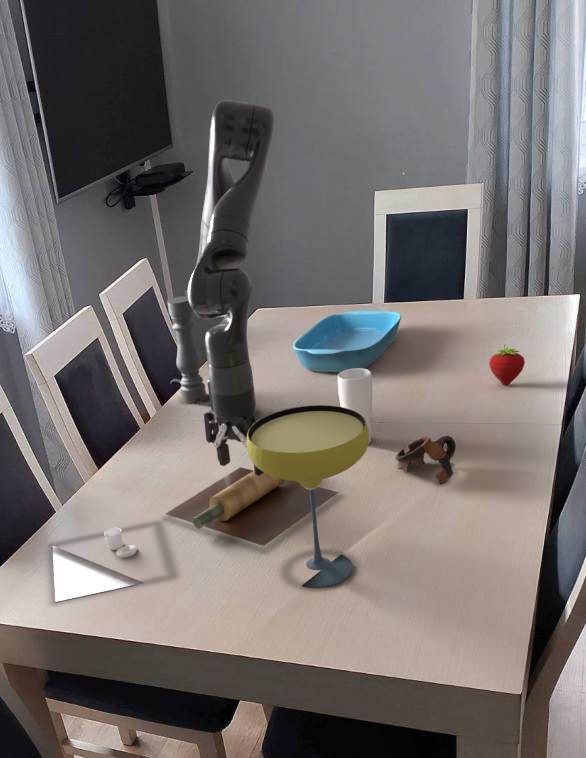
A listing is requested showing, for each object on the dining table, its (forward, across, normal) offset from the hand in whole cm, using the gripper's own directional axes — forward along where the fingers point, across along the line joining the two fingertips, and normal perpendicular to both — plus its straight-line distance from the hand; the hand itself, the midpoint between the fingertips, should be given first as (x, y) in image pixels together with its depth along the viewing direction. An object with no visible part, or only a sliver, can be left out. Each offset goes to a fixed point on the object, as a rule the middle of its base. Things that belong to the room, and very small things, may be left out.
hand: (242, 468), depth 160 cm
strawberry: (+8, -15, -72) cm, 74 cm away
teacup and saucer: (+8, +9, +27) cm, 30 cm away
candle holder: (+9, +50, -38) cm, 63 cm away
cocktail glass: (+8, -25, +11) cm, 28 cm away
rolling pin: (+7, -1, 0) cm, 7 cm away
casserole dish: (+9, +31, -78) cm, 84 cm away
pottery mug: (+8, -22, -27) cm, 36 cm away
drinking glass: (+8, -2, -33) cm, 34 cm away
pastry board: (+8, -1, 0) cm, 8 cm away
